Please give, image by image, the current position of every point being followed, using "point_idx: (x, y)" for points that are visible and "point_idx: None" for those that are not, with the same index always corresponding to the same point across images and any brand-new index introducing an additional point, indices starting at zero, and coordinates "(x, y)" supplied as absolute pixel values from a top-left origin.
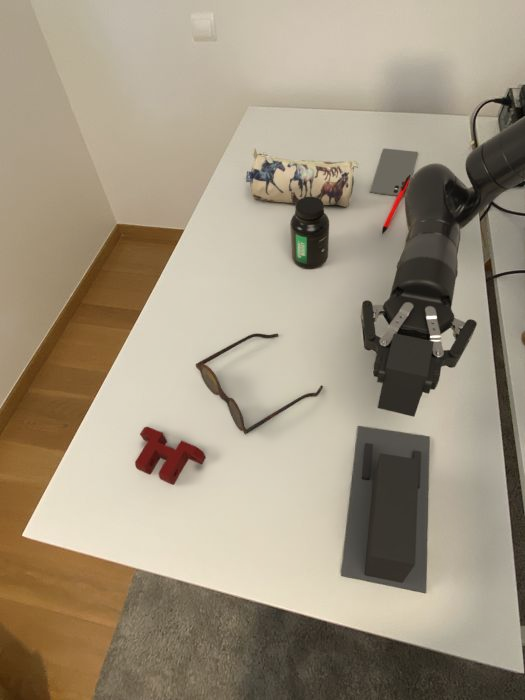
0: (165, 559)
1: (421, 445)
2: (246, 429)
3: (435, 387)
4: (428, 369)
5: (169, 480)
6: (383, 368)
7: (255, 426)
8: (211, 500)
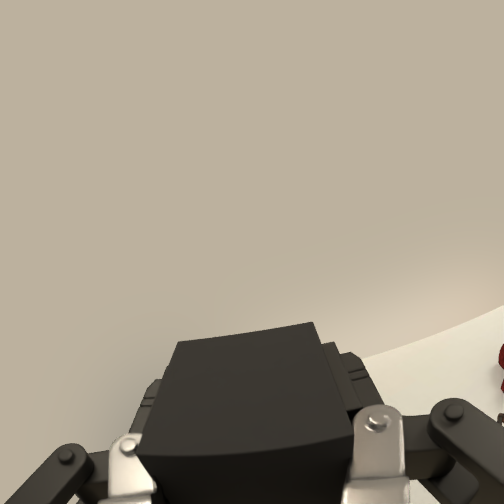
0: (444, 336)
1: None
2: (501, 417)
3: None
4: (172, 358)
5: (501, 347)
6: (324, 350)
7: None
8: (461, 377)
